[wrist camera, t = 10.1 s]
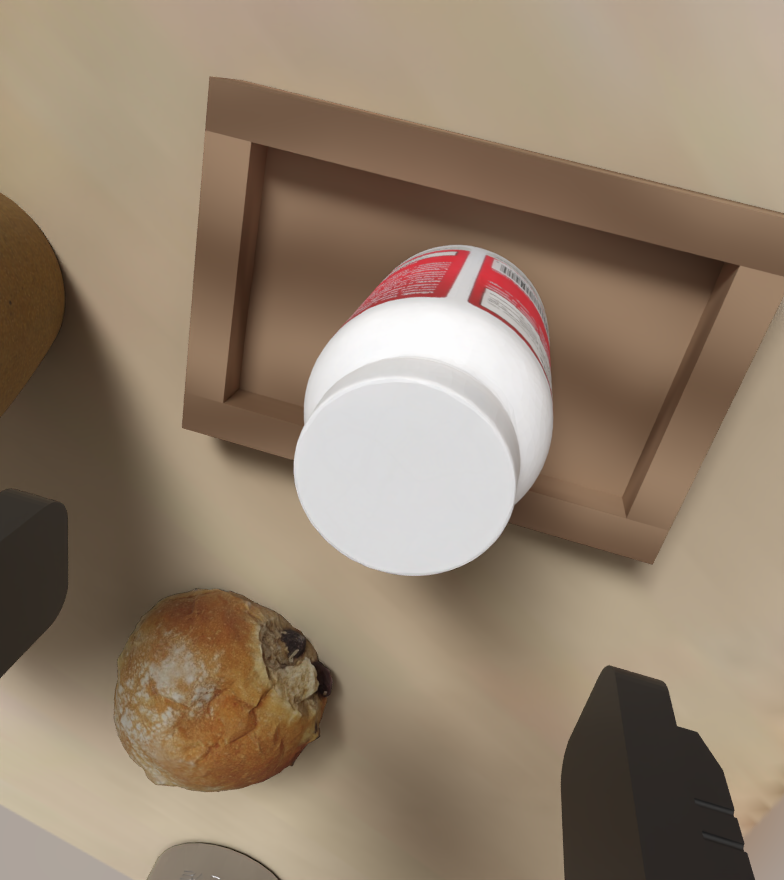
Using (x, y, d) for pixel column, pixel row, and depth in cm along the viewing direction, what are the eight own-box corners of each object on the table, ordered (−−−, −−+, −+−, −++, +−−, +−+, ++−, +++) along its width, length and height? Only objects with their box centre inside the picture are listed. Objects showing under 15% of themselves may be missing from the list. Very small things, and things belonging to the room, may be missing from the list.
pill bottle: (354, 384, 25) (237, 554, 16) (395, 218, 23) (283, 298, 13) (515, 435, 25) (499, 641, 15) (577, 273, 22) (605, 397, 12)
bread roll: (203, 527, 36) (57, 602, 30) (355, 617, 31) (215, 729, 25) (209, 669, 40) (82, 759, 34) (343, 769, 35) (222, 894, 29)
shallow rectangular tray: (643, 527, 27) (652, 564, 24) (210, 403, 28) (182, 427, 26) (788, 214, 21) (817, 226, 19) (242, 80, 23) (209, 76, 20)
